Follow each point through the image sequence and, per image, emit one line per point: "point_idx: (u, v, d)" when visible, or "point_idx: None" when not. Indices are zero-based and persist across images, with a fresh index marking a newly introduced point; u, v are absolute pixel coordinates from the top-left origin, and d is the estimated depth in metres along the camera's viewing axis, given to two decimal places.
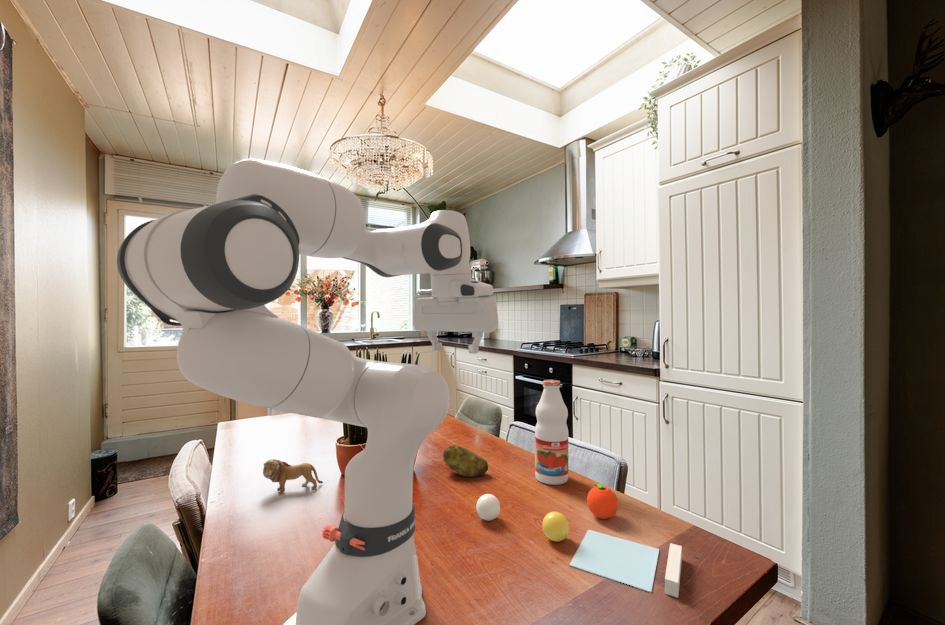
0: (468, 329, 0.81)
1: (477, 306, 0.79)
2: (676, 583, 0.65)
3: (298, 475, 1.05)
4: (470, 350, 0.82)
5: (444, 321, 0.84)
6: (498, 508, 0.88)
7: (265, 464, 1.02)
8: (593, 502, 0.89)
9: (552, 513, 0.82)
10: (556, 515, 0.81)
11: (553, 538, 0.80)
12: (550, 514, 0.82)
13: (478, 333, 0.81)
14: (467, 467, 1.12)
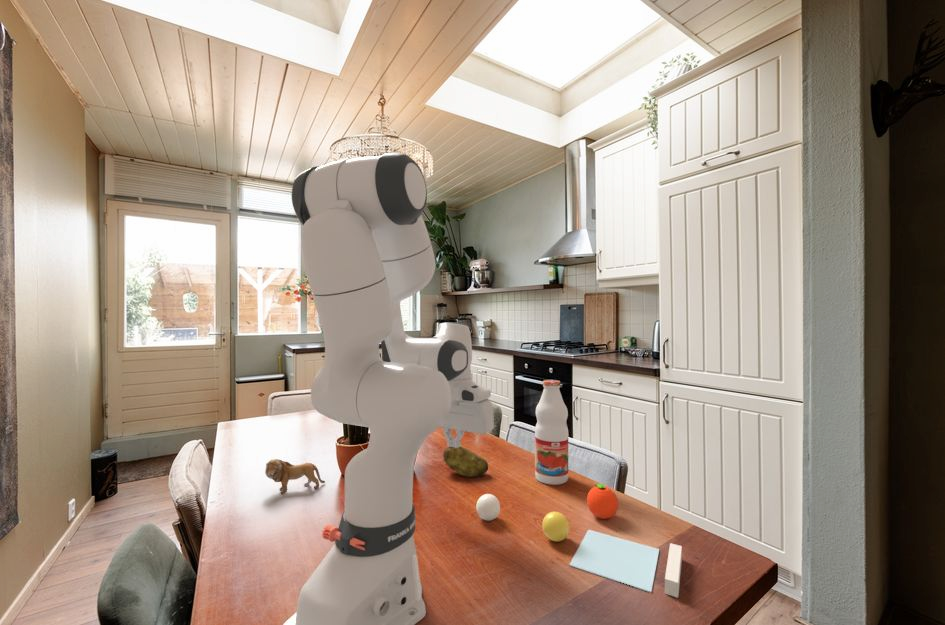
0: (466, 429, 0.91)
1: (476, 409, 0.90)
2: (676, 583, 0.65)
3: (300, 475, 1.05)
4: (453, 444, 0.94)
5: (445, 418, 0.94)
6: (498, 508, 0.88)
7: (267, 464, 1.02)
8: (593, 502, 0.89)
9: (552, 513, 0.82)
10: (556, 515, 0.81)
11: (553, 538, 0.80)
12: (550, 514, 0.82)
13: (461, 430, 0.93)
14: (467, 467, 1.12)
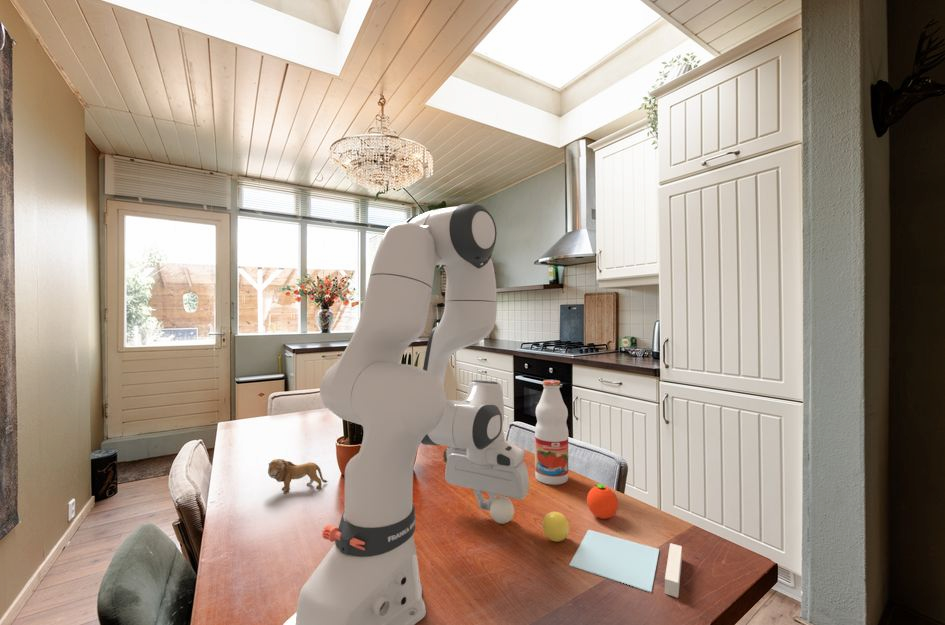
0: (501, 493, 0.87)
1: (511, 474, 0.86)
2: (676, 583, 0.65)
3: (303, 474, 1.05)
4: (485, 507, 0.90)
5: (477, 481, 0.90)
6: (512, 515, 0.87)
7: (270, 464, 1.02)
8: (593, 502, 0.89)
9: (552, 513, 0.82)
10: (556, 515, 0.81)
11: (553, 538, 0.80)
12: (550, 514, 0.82)
13: (494, 493, 0.89)
14: None
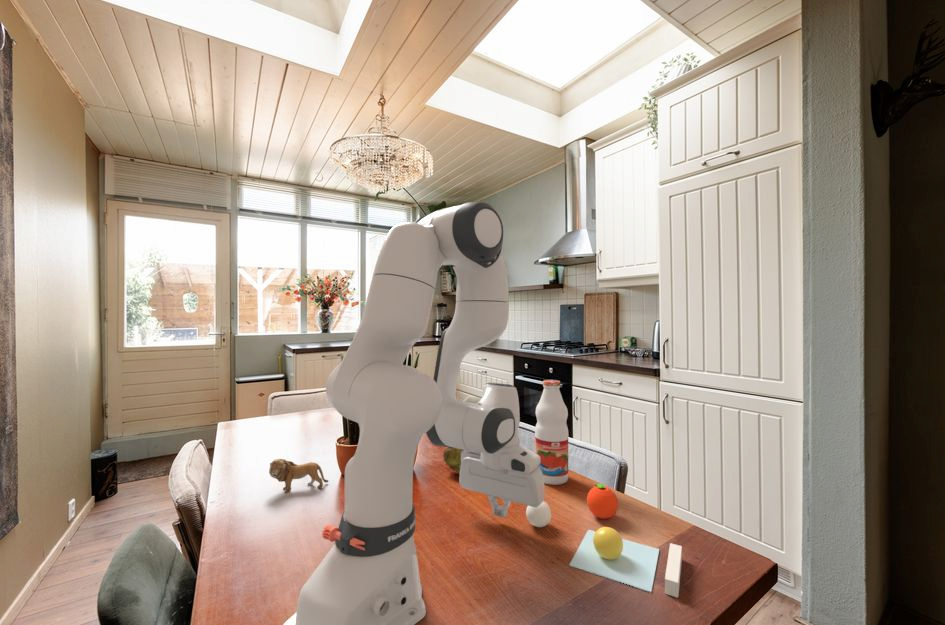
0: (516, 500, 0.84)
1: (526, 480, 0.83)
2: (676, 583, 0.65)
3: (304, 474, 1.05)
4: (500, 514, 0.87)
5: (491, 486, 0.87)
6: (526, 510, 0.88)
7: (271, 464, 1.02)
8: (593, 502, 0.89)
9: None
10: None
11: (607, 543, 0.74)
12: None
13: (508, 500, 0.87)
14: None
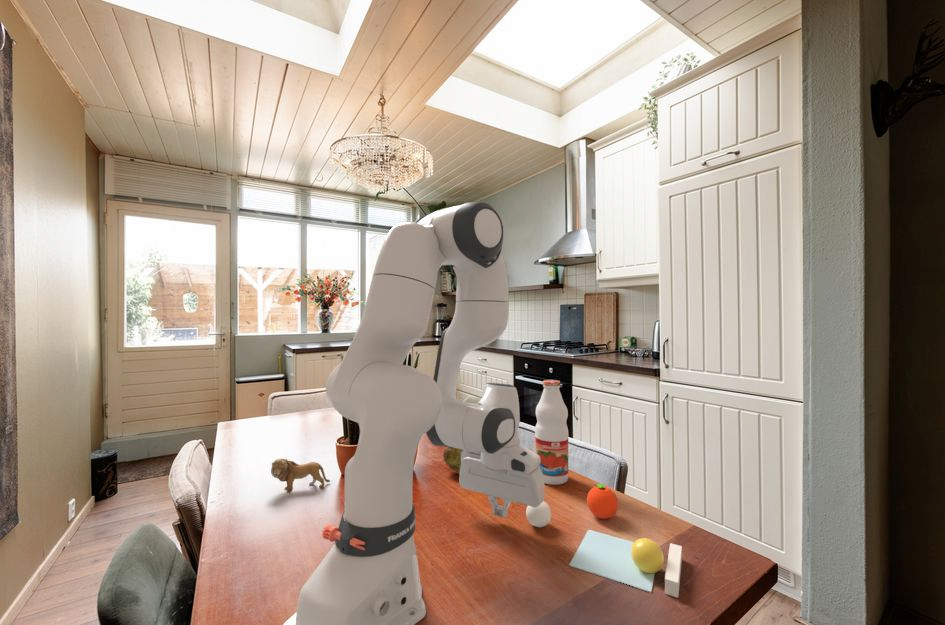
0: (516, 500, 0.84)
1: (526, 480, 0.83)
2: (676, 583, 0.65)
3: (306, 474, 1.05)
4: (500, 514, 0.87)
5: (491, 486, 0.87)
6: (526, 510, 0.88)
7: (273, 463, 1.02)
8: (593, 502, 0.89)
9: (645, 540, 0.72)
10: (650, 543, 0.71)
11: (646, 570, 0.70)
12: (642, 542, 0.72)
13: (508, 500, 0.87)
14: None
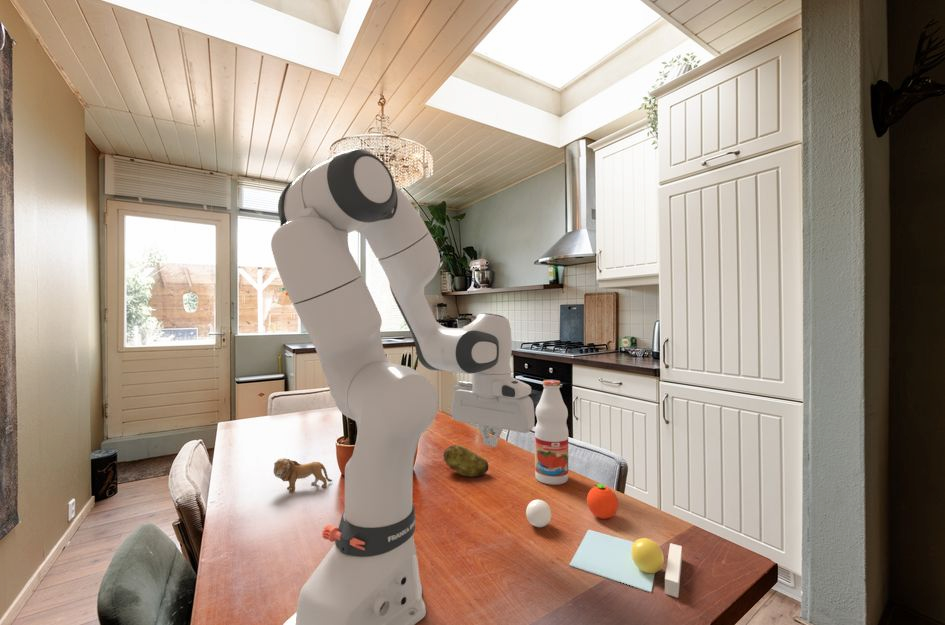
0: (506, 427, 0.86)
1: (516, 406, 0.84)
2: (676, 583, 0.65)
3: (308, 474, 1.05)
4: (490, 443, 0.88)
5: (482, 415, 0.89)
6: (526, 510, 0.88)
7: (276, 463, 1.02)
8: (593, 502, 0.89)
9: (645, 540, 0.72)
10: (650, 543, 0.71)
11: (646, 570, 0.70)
12: (642, 542, 0.72)
13: (498, 428, 0.88)
14: (468, 467, 1.12)
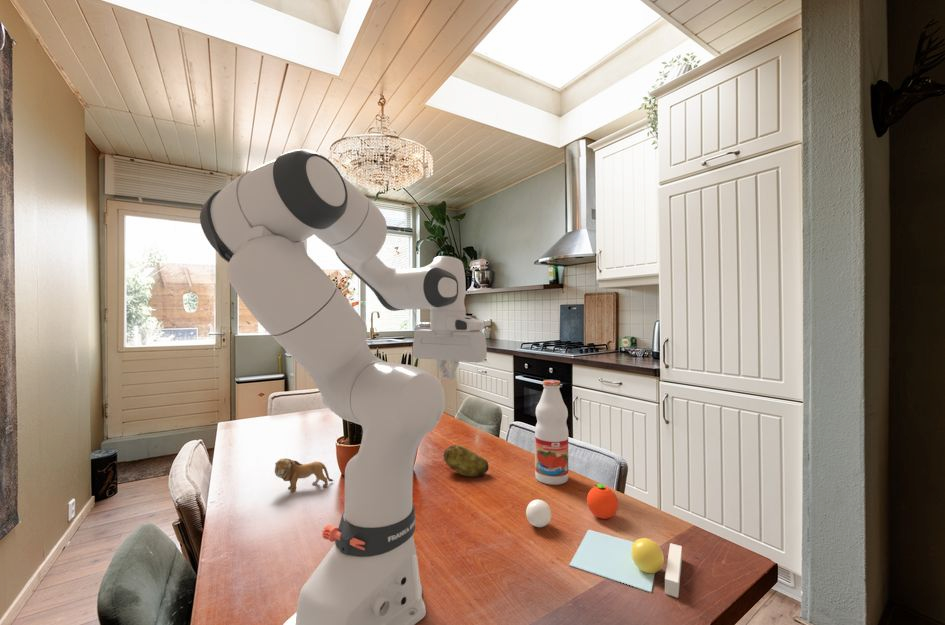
0: (460, 359, 0.93)
1: (469, 339, 0.92)
2: (676, 583, 0.65)
3: (309, 473, 1.06)
4: (447, 376, 0.96)
5: (440, 351, 0.96)
6: (526, 510, 0.88)
7: (277, 463, 1.02)
8: (593, 502, 0.89)
9: (645, 540, 0.72)
10: (650, 543, 0.71)
11: (646, 570, 0.70)
12: (642, 542, 0.72)
13: (454, 362, 0.95)
14: (468, 467, 1.12)
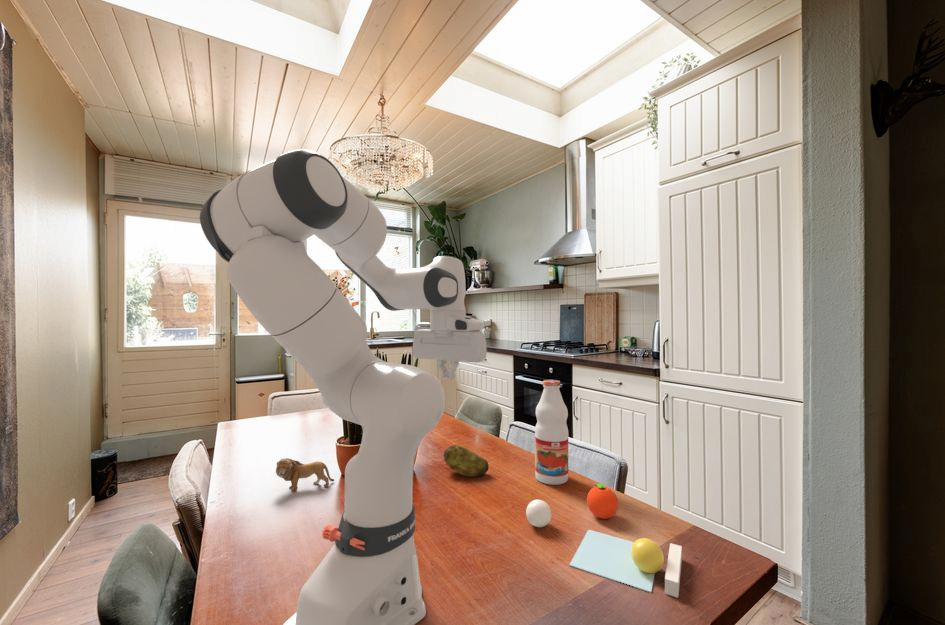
0: (460, 359, 0.93)
1: (469, 339, 0.92)
2: (676, 583, 0.65)
3: (310, 473, 1.06)
4: (447, 376, 0.96)
5: (439, 351, 0.96)
6: (526, 510, 0.88)
7: (278, 463, 1.02)
8: (593, 502, 0.89)
9: (645, 540, 0.72)
10: (650, 543, 0.71)
11: (646, 570, 0.70)
12: (642, 542, 0.72)
13: (454, 362, 0.95)
14: (468, 467, 1.12)
